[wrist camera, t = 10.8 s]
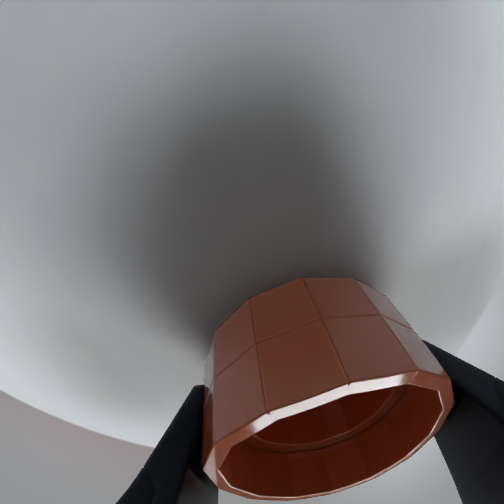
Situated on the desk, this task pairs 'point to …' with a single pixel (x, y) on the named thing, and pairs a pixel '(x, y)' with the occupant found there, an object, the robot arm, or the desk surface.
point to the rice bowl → (317, 391)
